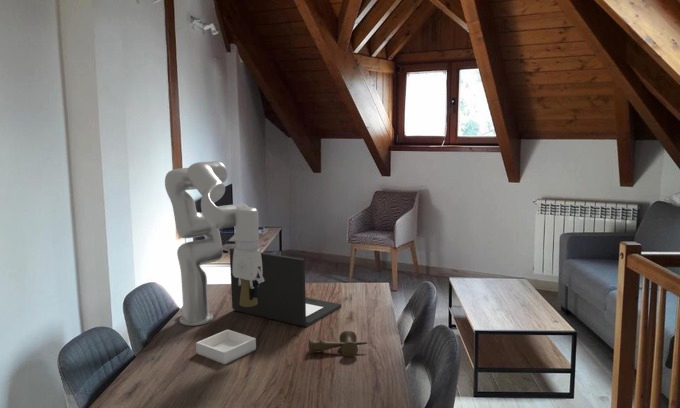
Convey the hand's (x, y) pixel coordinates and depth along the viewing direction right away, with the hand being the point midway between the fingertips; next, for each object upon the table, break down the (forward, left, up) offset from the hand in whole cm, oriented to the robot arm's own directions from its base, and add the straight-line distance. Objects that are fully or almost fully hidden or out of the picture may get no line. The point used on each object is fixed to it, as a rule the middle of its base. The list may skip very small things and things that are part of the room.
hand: (248, 297), depth 179 cm
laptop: (-17, +37, -19) cm, 45 cm away
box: (-6, -6, -19) cm, 20 cm away
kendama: (+26, +16, -19) cm, 36 cm away
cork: (0, 0, -3) cm, 3 cm away
